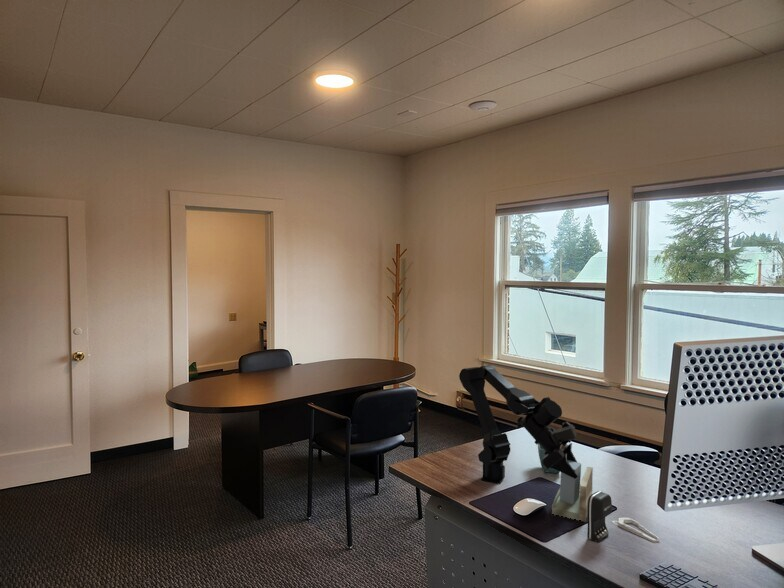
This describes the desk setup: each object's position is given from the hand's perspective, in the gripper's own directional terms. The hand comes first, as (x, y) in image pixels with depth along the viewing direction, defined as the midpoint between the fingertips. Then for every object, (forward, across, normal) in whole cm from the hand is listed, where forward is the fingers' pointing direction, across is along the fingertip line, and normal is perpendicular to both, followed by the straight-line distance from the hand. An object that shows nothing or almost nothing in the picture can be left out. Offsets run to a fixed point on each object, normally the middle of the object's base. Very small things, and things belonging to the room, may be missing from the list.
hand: (578, 473), depth 149 cm
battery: (+13, -15, +2) cm, 20 cm away
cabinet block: (+4, 0, +7) cm, 8 cm away
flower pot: (-1, +26, +16) cm, 31 cm away
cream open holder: (+6, 0, +8) cm, 10 cm away
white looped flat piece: (+19, -6, -4) cm, 21 cm away
